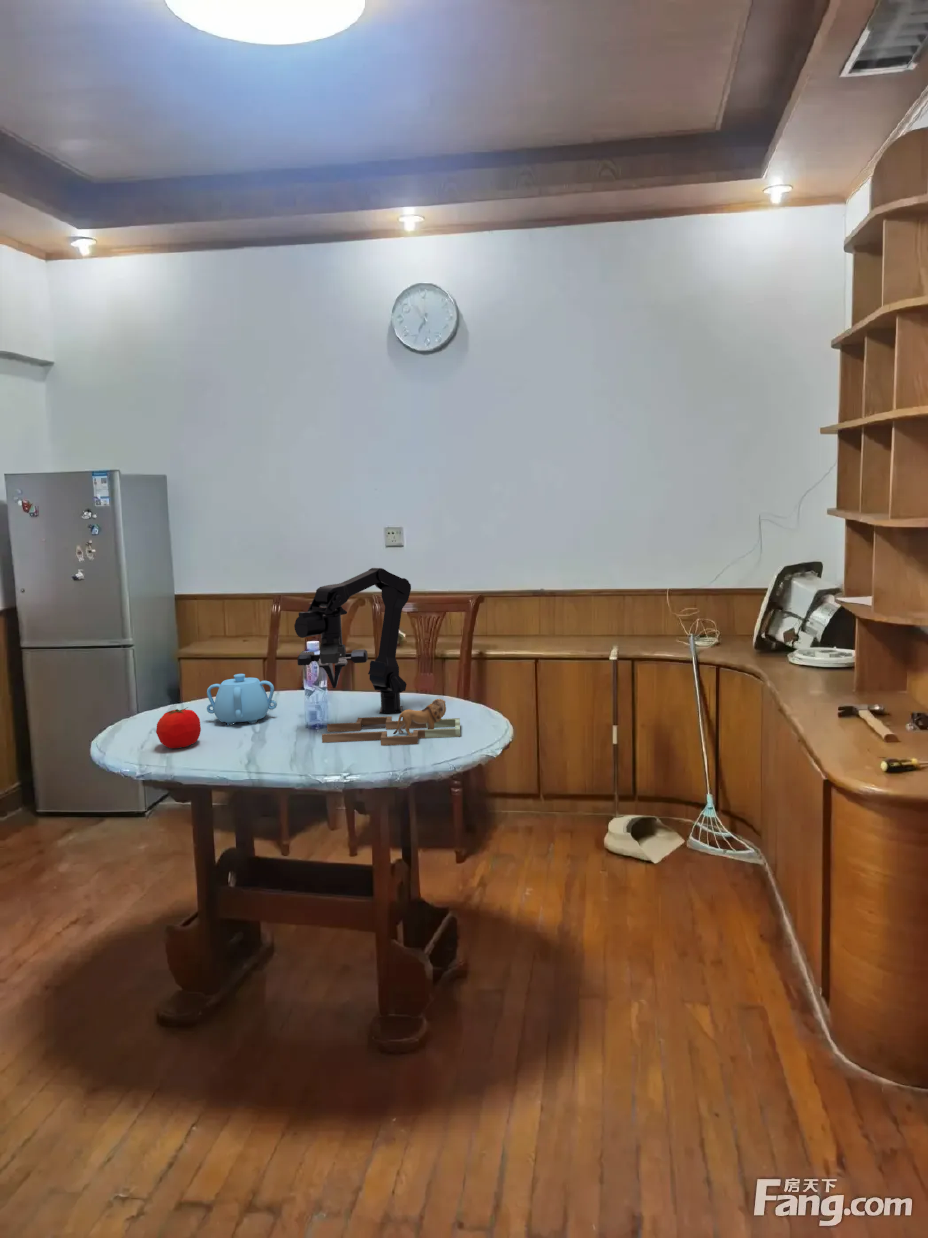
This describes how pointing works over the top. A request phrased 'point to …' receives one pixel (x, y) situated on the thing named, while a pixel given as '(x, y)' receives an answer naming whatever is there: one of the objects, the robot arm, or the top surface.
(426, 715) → the lion figurine
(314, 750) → the top surface
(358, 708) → the top surface
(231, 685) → the decorative pot
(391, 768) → the top surface
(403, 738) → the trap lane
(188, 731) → the tomato
